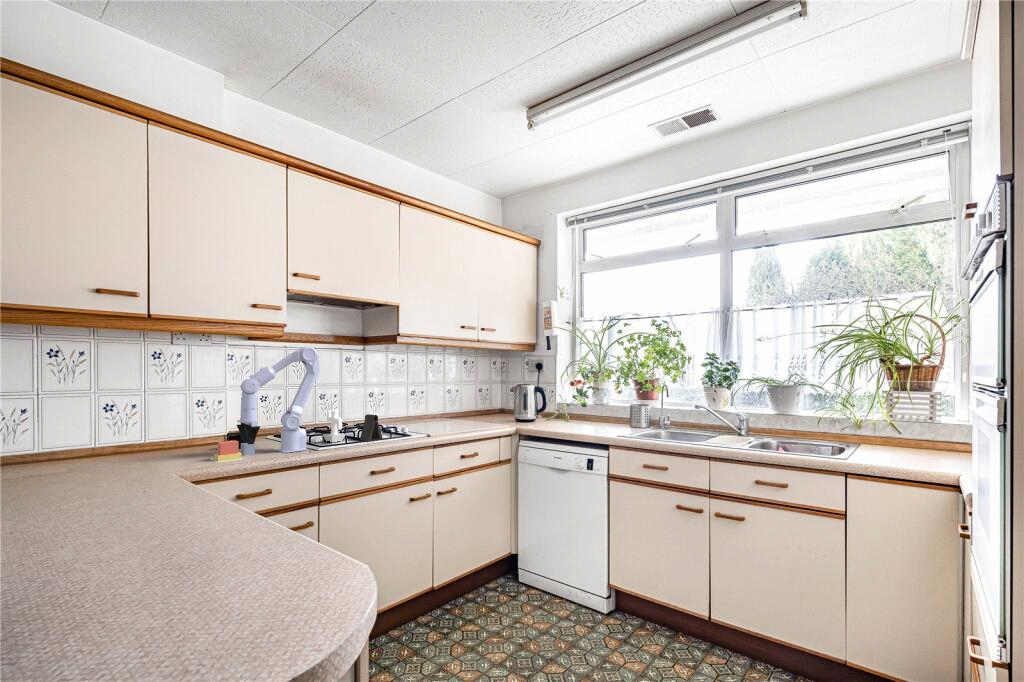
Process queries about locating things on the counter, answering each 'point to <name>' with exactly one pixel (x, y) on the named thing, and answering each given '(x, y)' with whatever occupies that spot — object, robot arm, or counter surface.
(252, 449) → the blue brick
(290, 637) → the counter surface
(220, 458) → the mustard brick
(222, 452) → the red brick
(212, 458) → the baseplate
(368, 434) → the phone stand
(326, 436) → the figurine
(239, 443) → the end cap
